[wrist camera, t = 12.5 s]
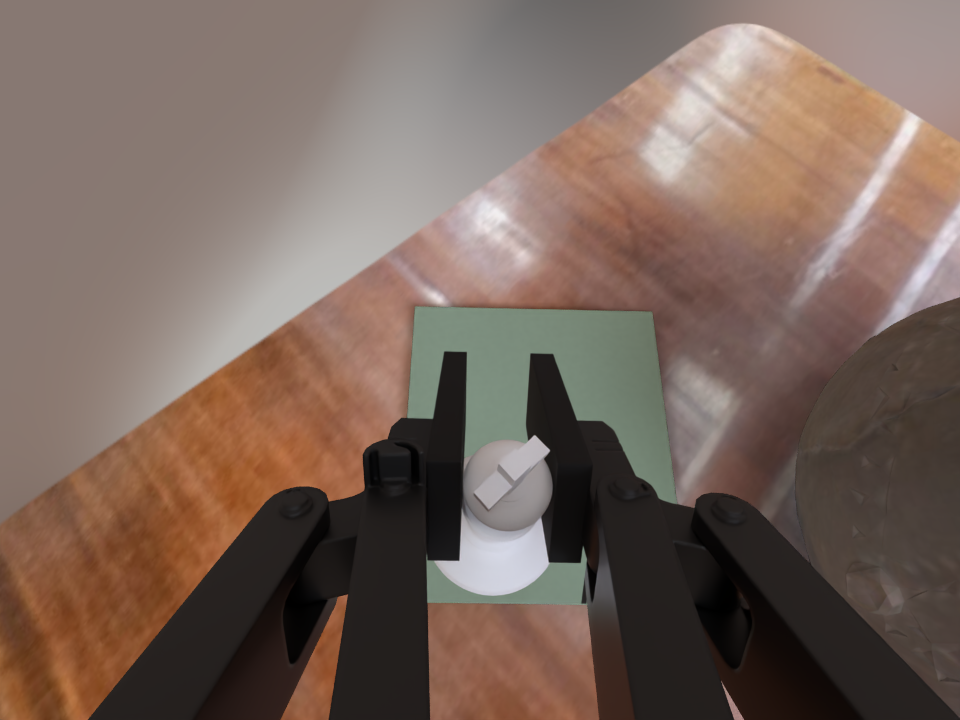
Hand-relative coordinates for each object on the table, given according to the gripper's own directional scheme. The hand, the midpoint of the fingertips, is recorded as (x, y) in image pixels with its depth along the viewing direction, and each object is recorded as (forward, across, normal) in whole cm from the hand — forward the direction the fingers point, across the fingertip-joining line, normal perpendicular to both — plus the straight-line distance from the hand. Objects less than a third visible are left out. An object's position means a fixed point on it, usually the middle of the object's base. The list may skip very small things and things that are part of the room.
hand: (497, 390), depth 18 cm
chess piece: (0, 0, -5) cm, 5 cm away
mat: (+12, +3, -9) cm, 15 cm away
